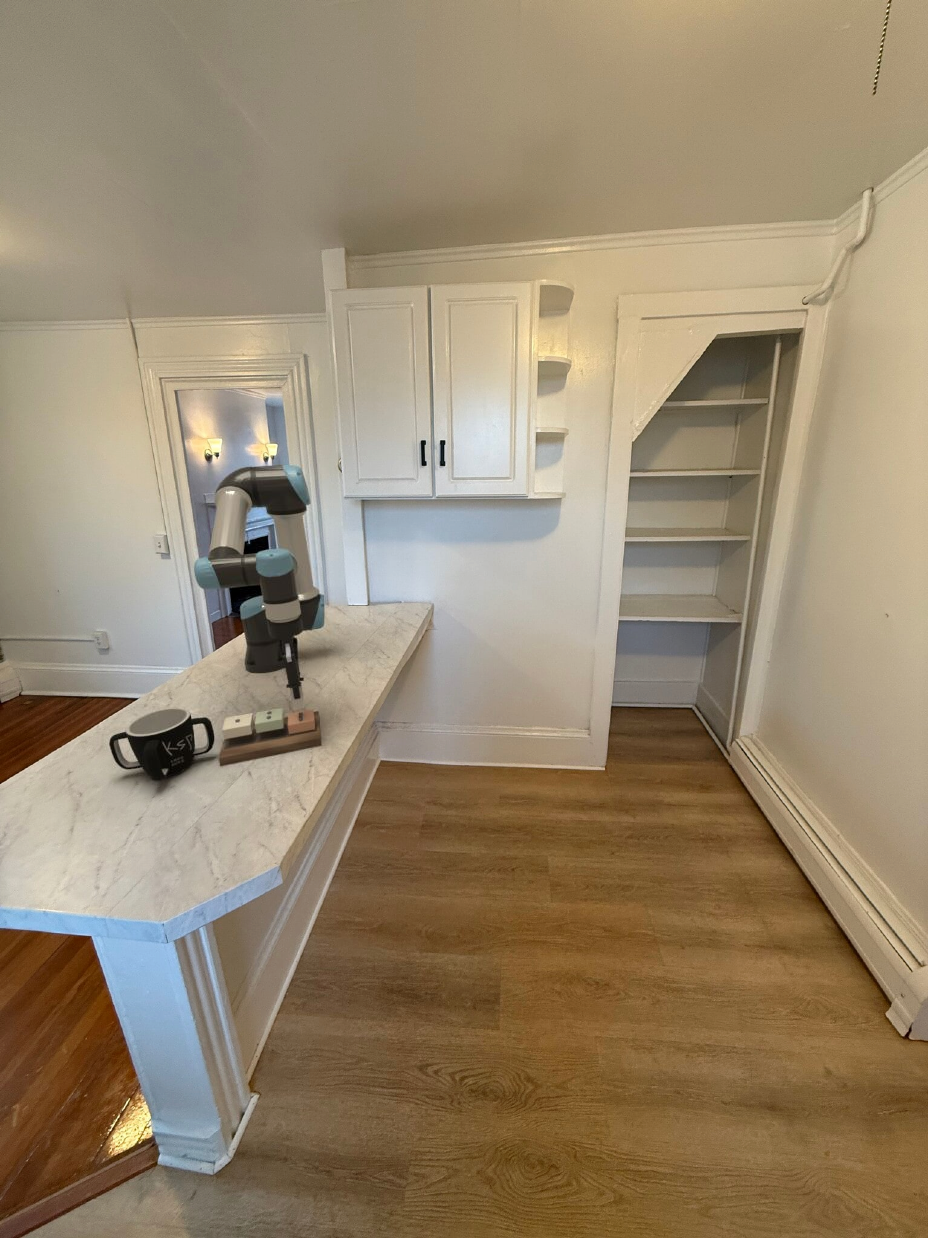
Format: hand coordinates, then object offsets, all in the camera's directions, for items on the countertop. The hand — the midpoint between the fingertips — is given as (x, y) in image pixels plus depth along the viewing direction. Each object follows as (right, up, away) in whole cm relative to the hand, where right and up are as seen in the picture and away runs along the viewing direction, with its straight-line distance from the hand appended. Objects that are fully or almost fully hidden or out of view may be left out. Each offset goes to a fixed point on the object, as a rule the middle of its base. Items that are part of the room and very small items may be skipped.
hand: (299, 708), depth 116 cm
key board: (-6, -8, 0) cm, 10 cm away
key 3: (0, -5, +1) cm, 5 cm away
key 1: (-13, -5, -4) cm, 14 cm away
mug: (-26, -12, -9) cm, 30 cm away
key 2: (-6, -4, -2) cm, 8 cm away
